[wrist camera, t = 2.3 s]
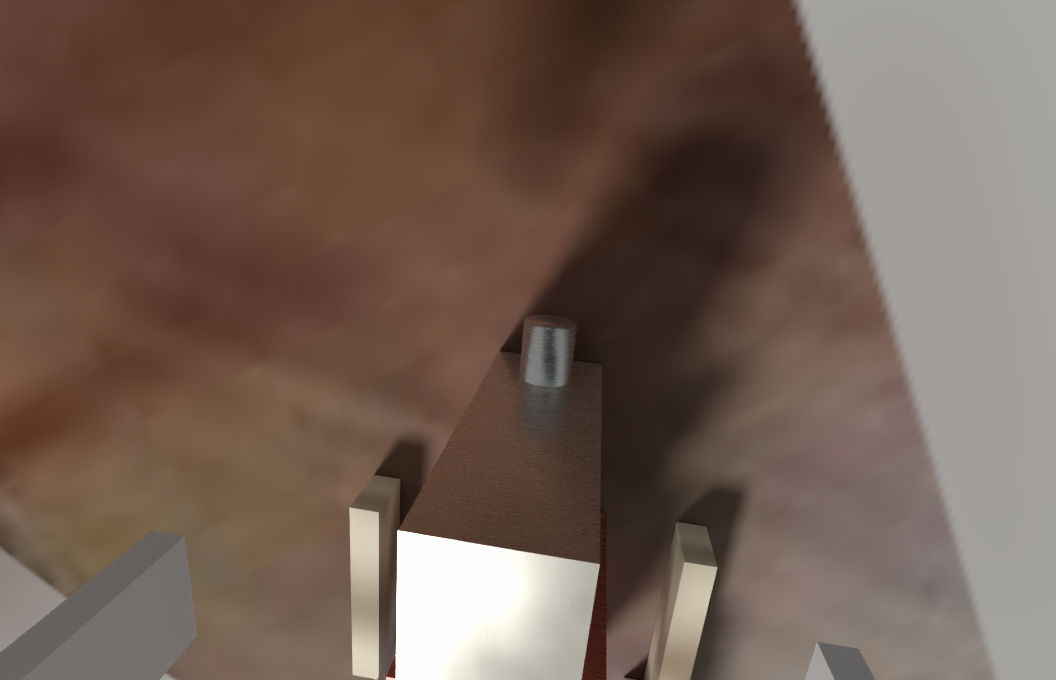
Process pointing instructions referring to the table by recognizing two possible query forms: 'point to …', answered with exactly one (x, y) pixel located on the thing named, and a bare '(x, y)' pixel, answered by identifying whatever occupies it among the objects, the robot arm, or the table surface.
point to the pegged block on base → (511, 528)
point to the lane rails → (378, 588)
